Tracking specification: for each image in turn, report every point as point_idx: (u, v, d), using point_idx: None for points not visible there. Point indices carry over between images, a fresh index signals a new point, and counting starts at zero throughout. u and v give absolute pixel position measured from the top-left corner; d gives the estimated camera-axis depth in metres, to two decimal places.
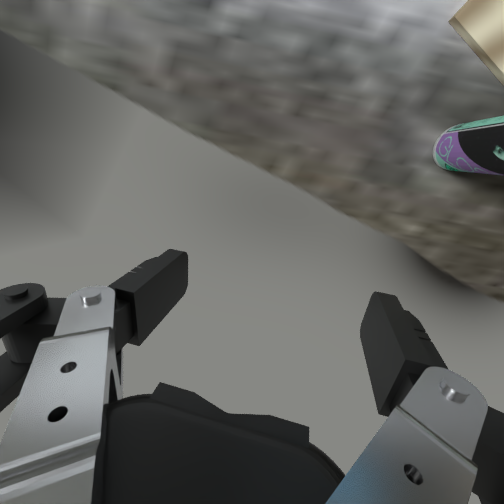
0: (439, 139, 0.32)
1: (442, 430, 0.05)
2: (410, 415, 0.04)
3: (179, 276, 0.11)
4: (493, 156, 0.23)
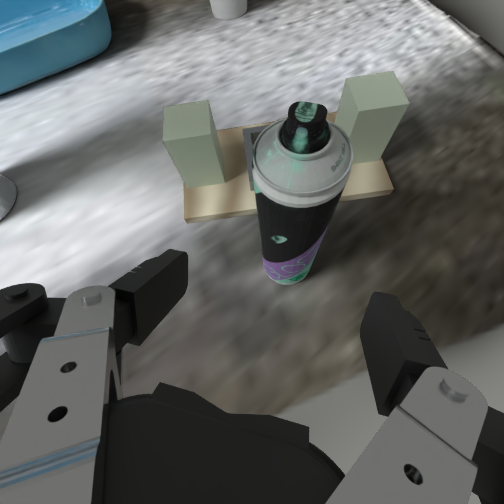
0: None
1: (442, 430, 0.05)
2: (410, 415, 0.04)
3: (180, 276, 0.11)
4: (281, 244, 0.18)
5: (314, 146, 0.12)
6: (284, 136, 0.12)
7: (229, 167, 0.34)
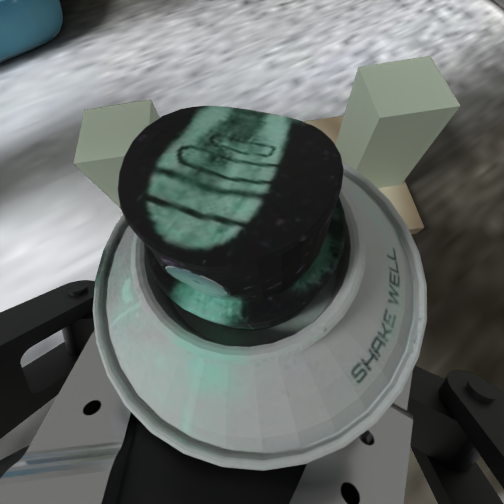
0: None
1: None
2: None
3: None
4: None
5: (278, 317, 0.02)
6: (149, 258, 0.03)
7: None
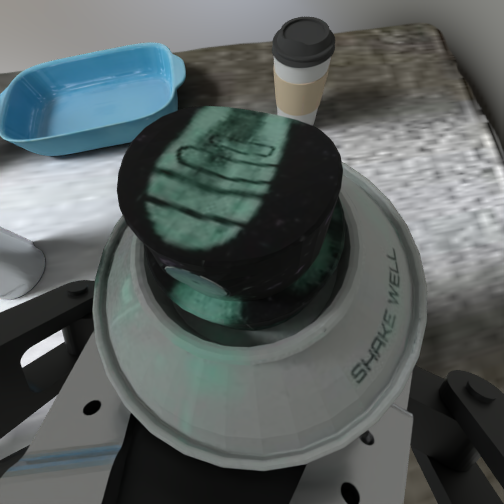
0: None
1: None
2: None
3: None
4: None
5: (278, 317, 0.02)
6: (149, 258, 0.03)
7: None
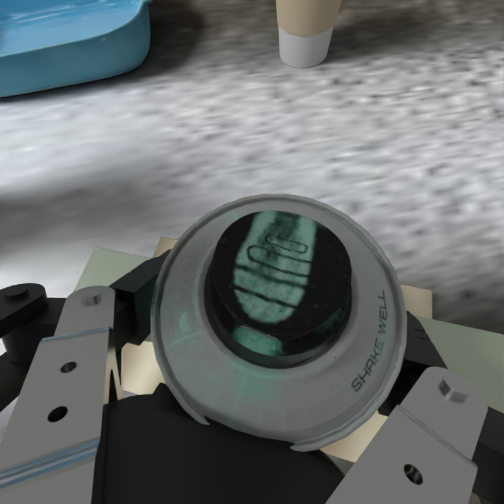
0: None
1: (442, 430, 0.05)
2: (410, 415, 0.04)
3: None
4: None
5: (304, 351, 0.04)
6: (213, 307, 0.04)
7: None
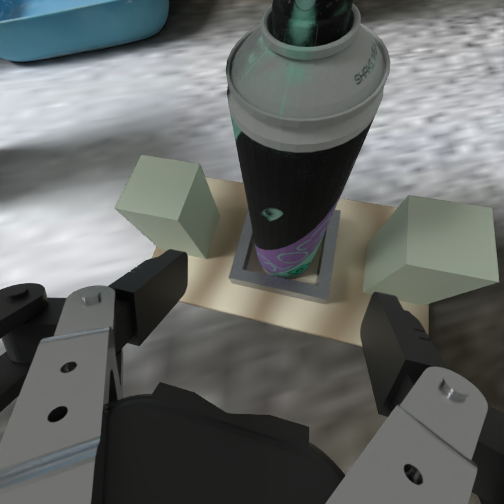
0: (259, 262, 0.24)
1: (442, 430, 0.05)
2: (410, 415, 0.04)
3: (180, 276, 0.11)
4: (276, 222, 0.13)
5: (328, 30, 0.07)
6: (275, 17, 0.07)
7: (219, 239, 0.26)
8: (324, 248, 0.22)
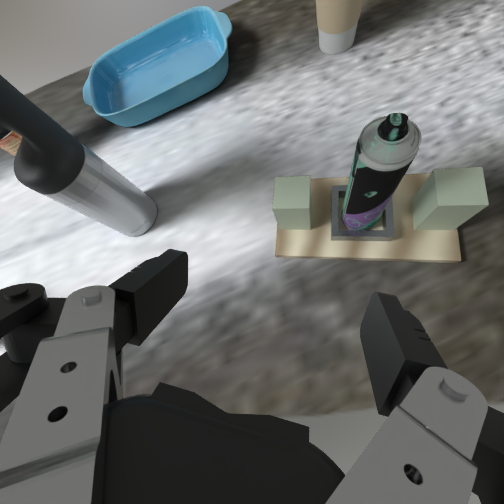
0: (345, 224, 0.39)
1: (442, 430, 0.05)
2: (410, 415, 0.04)
3: (179, 276, 0.11)
4: (371, 197, 0.29)
5: (401, 135, 0.22)
6: (383, 133, 0.22)
7: (315, 216, 0.42)
8: (385, 208, 0.37)
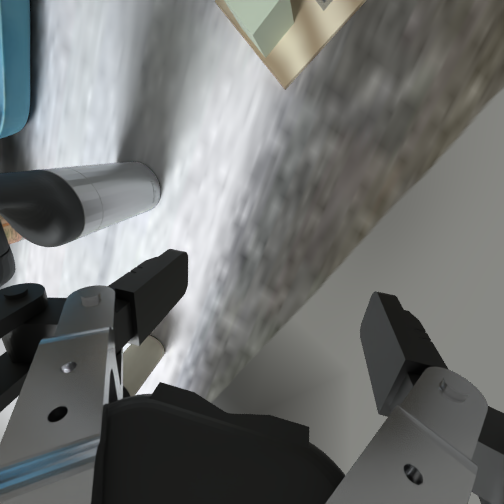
0: None
1: (442, 430, 0.05)
2: (410, 415, 0.04)
3: (179, 276, 0.11)
4: None
5: None
6: None
7: None
8: None
